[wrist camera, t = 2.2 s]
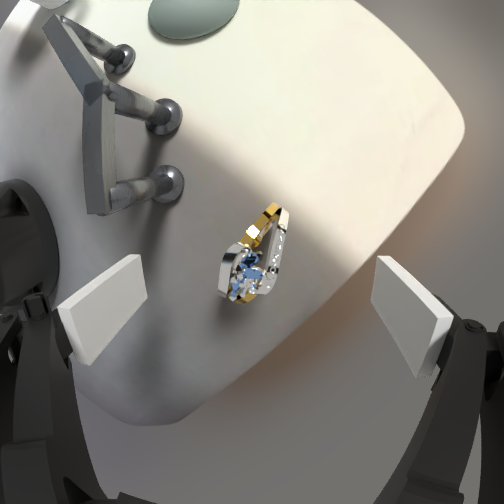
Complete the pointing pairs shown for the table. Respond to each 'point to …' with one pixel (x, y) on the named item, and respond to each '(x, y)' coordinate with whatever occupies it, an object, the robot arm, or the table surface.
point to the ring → (254, 258)
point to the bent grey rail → (112, 119)
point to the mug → (50, 3)
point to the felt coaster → (190, 16)
